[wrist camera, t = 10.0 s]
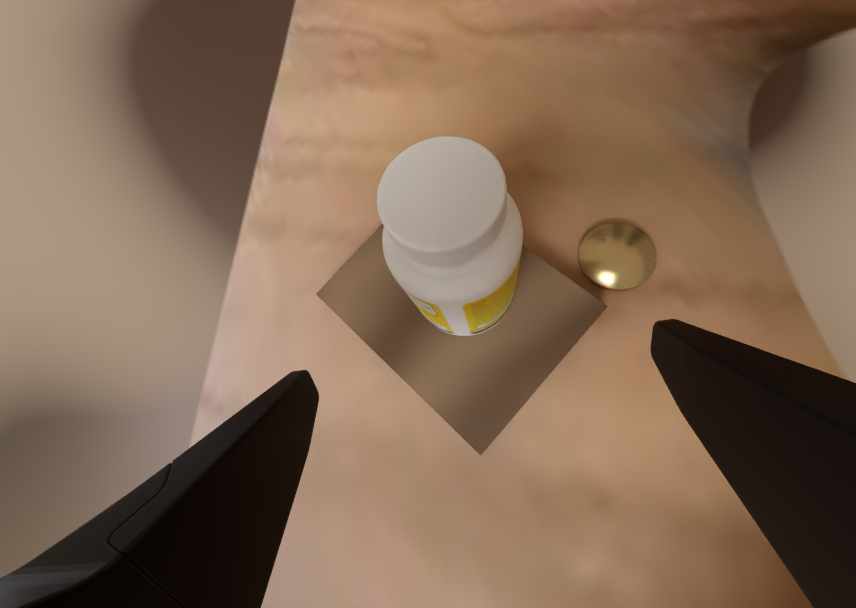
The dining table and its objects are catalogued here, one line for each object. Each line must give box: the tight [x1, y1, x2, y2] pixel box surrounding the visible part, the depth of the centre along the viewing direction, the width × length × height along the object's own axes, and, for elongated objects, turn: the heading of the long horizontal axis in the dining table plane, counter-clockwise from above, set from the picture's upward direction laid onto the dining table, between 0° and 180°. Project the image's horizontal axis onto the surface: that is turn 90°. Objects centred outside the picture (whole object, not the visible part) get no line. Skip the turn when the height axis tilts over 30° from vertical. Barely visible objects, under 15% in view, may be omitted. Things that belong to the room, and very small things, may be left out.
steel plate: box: [316, 224, 607, 455], centre depth 20 cm, size 13×10×1 cm
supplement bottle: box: [377, 136, 523, 336], centre depth 15 cm, size 5×5×10 cm
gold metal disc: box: [578, 223, 656, 291], centre depth 20 cm, size 4×4×1 cm
